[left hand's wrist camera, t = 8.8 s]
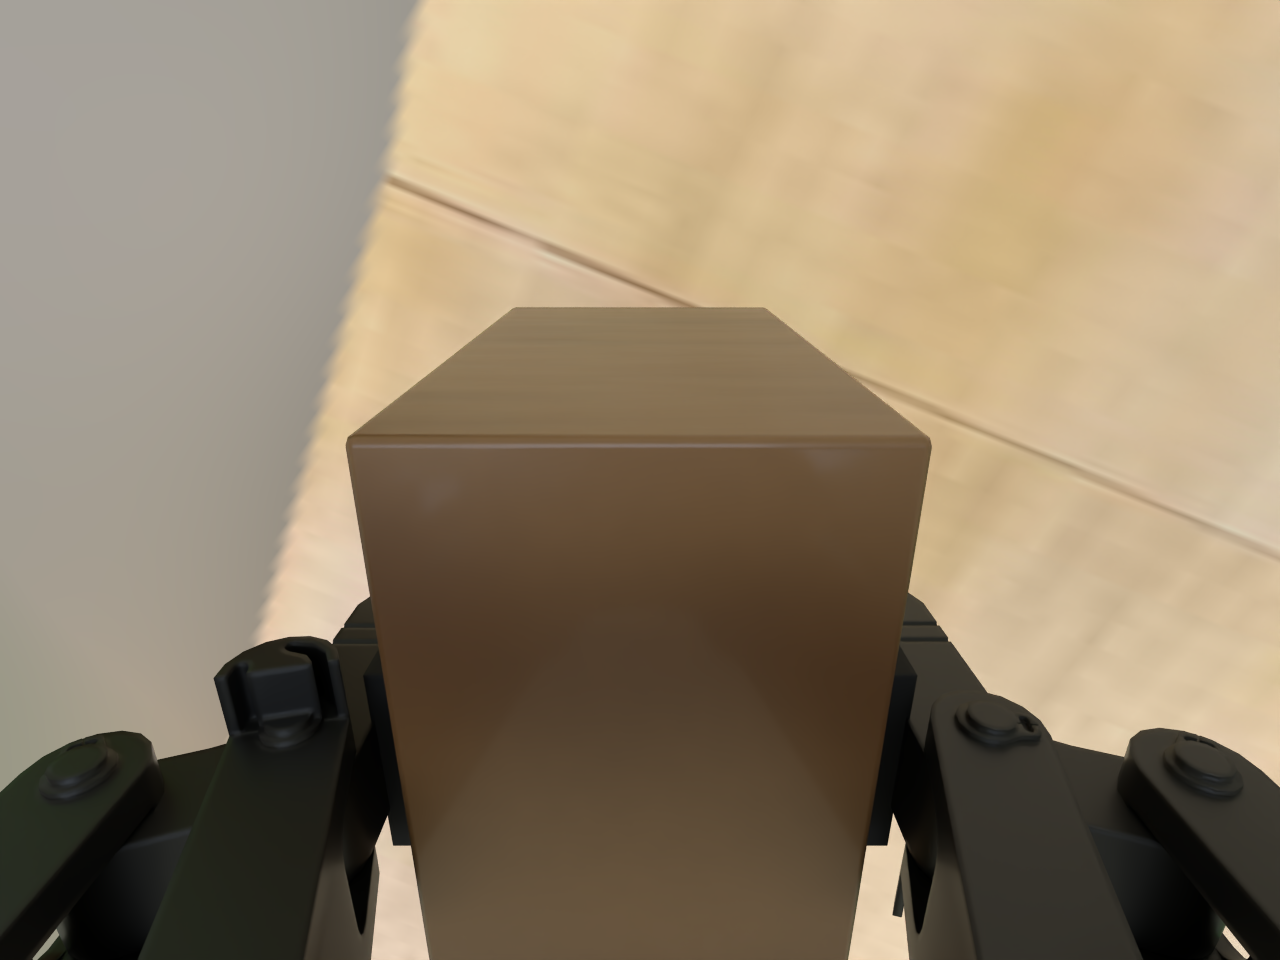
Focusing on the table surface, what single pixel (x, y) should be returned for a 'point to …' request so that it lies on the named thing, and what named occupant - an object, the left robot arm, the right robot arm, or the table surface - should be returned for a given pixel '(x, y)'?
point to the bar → (638, 632)
